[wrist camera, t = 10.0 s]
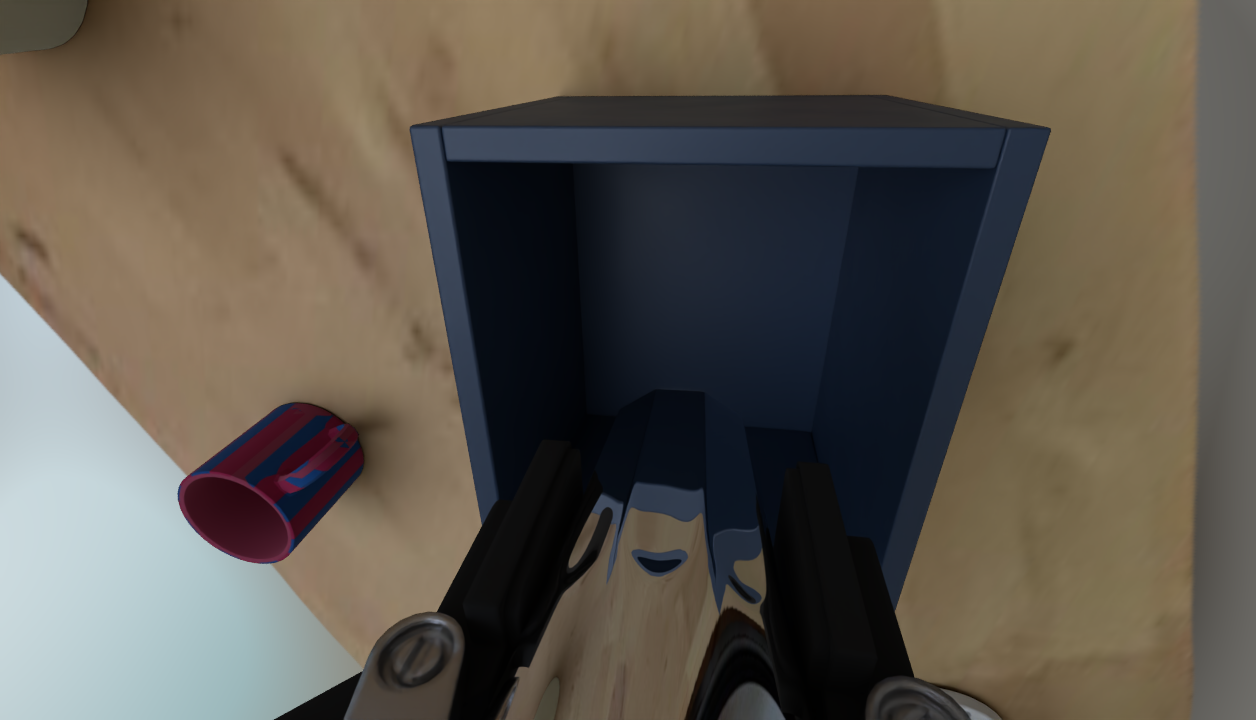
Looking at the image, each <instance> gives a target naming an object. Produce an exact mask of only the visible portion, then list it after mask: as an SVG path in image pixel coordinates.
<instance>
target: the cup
mask: <svg viewBox="0 0 1256 720" xmlns="http://www.w3.org/2000/svg"><path fill="white" fill-rule="evenodd" d="M358 436H359V434H358V432H357V431H356V430H355V428H354V427H352V426H351V425H350V424H344V423H343V422H342V421H341V420H340V419H338V418H337V417H336V416H334V415H333V414H331V413H329V412H327V411H326V410H324V409H321V408H319V407H316V406H313V405H309V404H302V403H289V404H285V405H281V406H280V407H278V408H276V409H274V410H273V411H272V412H271V413H269V414H268V415H267V416H265V417H264V418H263V419H261V420H260V421H259V422H257V423H256V424H255V425H254V426H252V427H251V428H250V429H248V430H247V431H246V432H244V433H243V434H242V435H241V436H239V437H238V438H237V439H235V440H234V441H233V442H231V443H230V444H229V445H227V446H226V447H225V448H224V449H222V450H221V451H220V452H218V453H217V454H216V455H214V456H213V457H212V458H210V459H209V460H208V461H207V462H205V463H204V464H203V465H201V466H200V467H199V468H197V469H196V470H195V471H194V472H192V473H191V474H190V475H188V476H187V477H186V478H185V479H184V480H183V481H182V482H181V484H180V486H179V489H178V502H179V505H180V509H181V511H182V513H183V515H184V517H185V518H186V520H187V521H188V523H189V524H190V525H191V526H192V528H193V529H194V530H195V531H196V532H197V533H198V534H199V535H200V536H201V537H202V538H203V539H204V540H206V541H207V542H208V543H210V544H211V545H212V546H214V547H215V548H217V549H219V550H220V551H222V552H224V553H226V554H228V555H230V556H233V557H235V558H238V559H240V560H244V561H247V562H252V563H260V564H261V563H262V564H268V563H276V562H278V561H281V560H283V559H285V558H286V557H288V556H289V554H290V553H291V552H292V551H293V550H294V549H295V548H296V547H297V545H298V544H299V543H300V542H301V541H302V540H303V539H304V538H305V536H306V535H307V534H308V533H309V532H310V531H311V530H312V529H313V527H314V526H315V525H316V524H317V523H318V522H319V521H320V520H321V518H322V517H323V516H324V515H325V514H326V513H327V512H328V511H329V509H330V508H331V507H332V506H333V505H334V504H335V503H336V502H337V500H338V499H339V498H340V497H341V496H342V495H343V494H344V493H345V491H346V490H347V489H348V488H349V487H350V486H351V485H352V484H353V482H354V481H355V480H356V479H357V478H358V477H359V475H360V474H361V472H362V469H363V464H364V459H363V452H362V449H361V446H360V444H359V442H358V440H357V439H358Z"/></svg>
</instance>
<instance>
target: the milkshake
mask: <svg viewBox="0 0 1256 720" xmlns="http://www.w3.org/2000/svg"><path fill="white" fill-rule="evenodd" d="M481 720H814V717H813V713H812V709H811V705H810V701H809V697H808V693H807V689H806V686H805V682H804V678H803V674H802V671H801V667H800V664H799V661H798V658H797V655H796V652H795V648H794V645H793V640H792V636H791V632H790V627H789V622H788V618H787V613H786V608H785V604H784V599H783V594H782V589H781V585H780V580H779V575H778V570H777V565H776V561H775V556H774V551H773V546H772V541H771V536H770V532H769V527H768V522H767V517H766V512H765V507H764V503H763V498H762V493H761V488H760V483H759V478H758V474H757V469H756V464H755V459H754V455H753V452H752V449H751V446H750V442H749V439H748V436H747V432H746V429H745V426H744V422H743V419H742V416H741V415H740V414H738V413H737V412H735V411H734V410H732V409H731V408H729V407H728V406H726V405H725V404H724V403H722V402H721V401H719V400H718V399H716V398H715V397H713V396H712V395H711V394H709V393H708V392H706V391H705V390H693V389H673V388H656V389H654V390H652V391H651V392H649V393H647V394H645V395H644V396H642V397H640V398H638V399H637V400H635V401H633V402H631V403H630V404H628V405H626V406H624V407H623V408H621V409H620V410H619V412H618V414H617V417H616V419H615V421H614V424H613V426H612V429H611V431H610V433H609V436H608V438H607V440H606V443H605V445H604V448H603V450H602V452H601V455H600V457H599V460H598V462H597V464H596V467H595V469H594V472H593V474H592V476H591V479H590V481H589V484H588V486H587V488H586V491H585V493H584V495H583V498H582V500H581V503H580V505H579V507H578V510H577V512H576V515H575V517H574V519H573V522H572V524H571V526H570V529H569V531H568V534H567V536H566V538H565V541H564V543H563V545H562V548H561V550H560V552H559V555H558V557H557V559H556V562H555V564H554V566H553V568H552V571H551V573H550V575H549V577H548V579H547V582H546V584H545V586H544V588H543V590H542V592H541V594H540V596H539V598H538V600H537V602H536V604H535V606H534V608H533V611H532V613H531V615H530V617H529V619H528V621H527V623H526V625H525V627H524V629H523V631H522V633H521V635H520V637H519V639H518V641H517V643H516V645H515V648H514V650H513V652H512V654H511V656H510V658H509V660H508V662H507V665H506V667H505V669H504V671H503V673H502V675H501V677H500V680H499V682H498V684H497V686H496V688H495V690H494V692H493V695H492V697H491V699H490V701H489V703H488V705H487V707H486V710H485V712H484V714H483V716H482V718H481Z"/></svg>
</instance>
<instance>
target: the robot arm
mask: <svg viewBox="0 0 1256 720" xmlns="http://www.w3.org/2000/svg"><path fill="white" fill-rule="evenodd" d="M582 498H583V486H582V471H581V455H580V450H579V449H572V445H571V442H569V441H559V440H547V439H544V440H542V442H541V443H540V445H539V447H538V449H537V451H536V453H535V455H534V457H533V460H532V462H531V464H530V466H529V468H528V470H527V472H526V474H525V476H524V478H523V480H522V482H521V484H520V486H519V488H518V490H517V492H516V494H515V497H514V499H513V501H511V500H501V499H499V500H498V501H496V502H495V503H494V505H493V506H492V508H491V510H490V512H489V514H488V516H487V518H486V519H485V521H484V523H483V525H482V527H481V529H480V531H479V533H478V535H477V537H476V538H475V540H474V542H473V544H472V546H471V548H470V550H469V552H468V554H467V556H466V557H465V559H464V561H463V563H462V565H461V567H460V569H459V571H458V573H457V575H456V576H455V578H454V580H453V582H452V584H451V586H450V588H449V590H448V592H447V594H446V595H445V597H444V599H443V601H442V603H441V605H440V607H439V609H438V611H437V612H425V613H419V614H414V615H412V616H410V617H407V618H405V619H402V620H400V621H399V622H398V623H396V624H395V625H393V626H392V627H390V628H389V629H388V630H387V631H386V632H385V633H384V634H383V635H382V636H381V637H380V638H379V639H378V640H377V642H376V644H375V645H374V647H373V649H372V651H371V652H370V654H369V657H368V659H367V662H366V664H365V667H364V669H363V671H362V672H360V673H358V674H356V675H355V676H353V677H351V678H349V679H348V680H345V681H344V682H342V683H340V684H338V685H336V686H335V687H333V688H331V689H329V690H327V691H325V692H324V693H322V694H320V695H318V696H316V697H314V698H313V699H311V700H309V701H307V702H305V703H303V704H302V705H300V706H298V707H296V708H294V709H293V710H291V711H289V712H287V713H285V714H284V715H282V716H280V717H278V718H276V719H274V720H481V718H482V716H483V714H484V712H485V710H486V707H487V705H488V703H489V701H490V699H491V697H492V695H493V692H494V690H495V688H496V686H497V684H498V682H499V680H500V677H501V675H502V673H503V671H504V669H505V667H506V665H507V662H508V660H509V658H510V656H511V654H512V652H513V650H514V648H515V645H516V643H517V641H518V639H519V637H520V635H521V633H522V631H523V629H524V627H525V625H526V623H527V621H528V619H529V617H530V615H531V613H532V611H533V608H534V606H535V604H536V602H537V600H538V598H539V596H540V594H541V592H542V590H543V588H544V586H545V584H546V582H547V579H548V577H549V575H550V573H551V571H552V568H553V566H554V564H555V562H556V559H557V557H558V555H559V552H560V550H561V548H562V545H563V543H564V541H565V538H566V536H567V534H568V531H569V529H570V526H571V524H572V522H573V519H574V517H575V515H576V512H577V510H578V507H579V505H580V503H581V500H582ZM773 551H774V556H775V561H776V565H777V570H778V575H779V580H780V585H781V589H782V594H783V599H784V604H785V608H786V613H787V618H788V622H789V627H790V632H791V636H792V640H793V645H794V648H795V652H796V655H797V658H798V661H799V664H800V667H801V671H802V674H803V678H804V682H805V686H806V689H807V693H808V697H809V701H810V705H811V709H812V713H813V717H814V720H1002V719H1001V718H1000V717H999V716H998V714H997V713H996V712H994V711H993V710H992V709H990V708H989V707H988V706H986V705H985V704H983V703H981V702H979V701H977V700H975V699H973V698H971V697H969V696H966V695H963V694H960V693H957V692H954V691H951V690H946V689H941V688H938V687H936V686H935V685H933V684H930V683H928V682H926V681H923V680H921V679H919V678H915V677H914V674H913V671H912V667H911V664H910V661H909V658H908V654H907V651H906V648H905V644H904V641H903V638H902V635H901V631H900V628H899V625H898V622H897V618H896V615H895V612H894V608H893V605H892V602H891V599H890V595H889V592H888V589H887V586H886V582H885V579H884V576H883V572H882V569H881V566H880V563H879V559H878V556H877V553H876V550H875V547H874V544H873V542H872V540H871V539H870V538H867V537H857V536H848V535H846V531H845V527H844V523H843V519H842V515H841V511H840V507H839V503H838V500H837V496H836V492H835V488H834V484H833V480H832V476H831V472H830V468H829V465H828V464H824V463H813V462H801V461H798V462H797V464H796V468H786V471H785V476H784V482H783V489H782V495H781V502H780V508H779V514H778V521H777V527H776V533H775V540H774V546H773Z"/></svg>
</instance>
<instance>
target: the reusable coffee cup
mask: <svg viewBox="0 0 1256 720" xmlns="http://www.w3.org/2000/svg"><path fill="white" fill-rule="evenodd" d="M86 7H87V0H0V55H2V54H11V53H19V52H28V51H36V50H45V49H52V48H54V47H57V46H59V45H62V44H64V43H65V42H67V41H68V40H69V39H70V38H71V37H73V36H74V35H75V33H76V32H77V30H78V28H79V27H80V25H81V23H82V21H83V18H84V14H85V11H86Z"/></svg>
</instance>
